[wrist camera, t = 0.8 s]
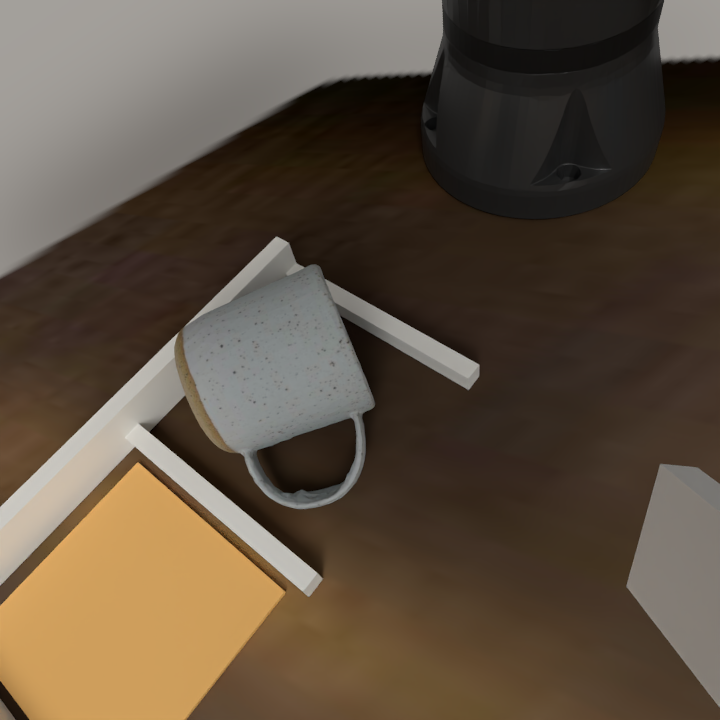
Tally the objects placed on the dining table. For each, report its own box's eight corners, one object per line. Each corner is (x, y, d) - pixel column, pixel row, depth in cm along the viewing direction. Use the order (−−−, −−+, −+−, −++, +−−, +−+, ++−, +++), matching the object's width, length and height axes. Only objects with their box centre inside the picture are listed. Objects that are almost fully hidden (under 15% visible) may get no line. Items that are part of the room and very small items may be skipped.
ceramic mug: (208, 372, 36) (150, 293, 29) (340, 320, 36) (311, 231, 30) (256, 543, 30) (197, 493, 24) (410, 479, 31) (393, 412, 24)
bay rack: (284, 266, 39) (271, 233, 37) (479, 376, 33) (479, 345, 30) (-79, 632, 30) (-129, 623, 28) (93, 876, 24) (49, 892, 22)
